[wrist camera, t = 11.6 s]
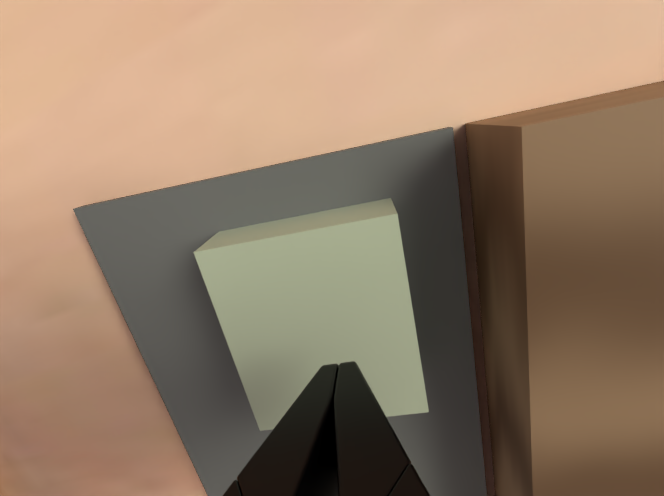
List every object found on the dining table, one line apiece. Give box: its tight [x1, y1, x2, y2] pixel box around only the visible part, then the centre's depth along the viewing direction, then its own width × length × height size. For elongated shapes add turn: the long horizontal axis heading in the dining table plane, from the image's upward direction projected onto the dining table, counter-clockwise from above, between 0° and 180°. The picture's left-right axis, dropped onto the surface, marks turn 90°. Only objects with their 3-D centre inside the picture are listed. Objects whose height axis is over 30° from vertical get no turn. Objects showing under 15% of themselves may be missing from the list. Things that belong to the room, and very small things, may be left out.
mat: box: [73, 127, 487, 496], centre depth 15 cm, size 22×13×1 cm, turn 12°
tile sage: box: [193, 198, 429, 431], centre depth 12 cm, size 7×6×2 cm
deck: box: [465, 81, 664, 496], centre depth 12 cm, size 22×10×4 cm, turn 12°
